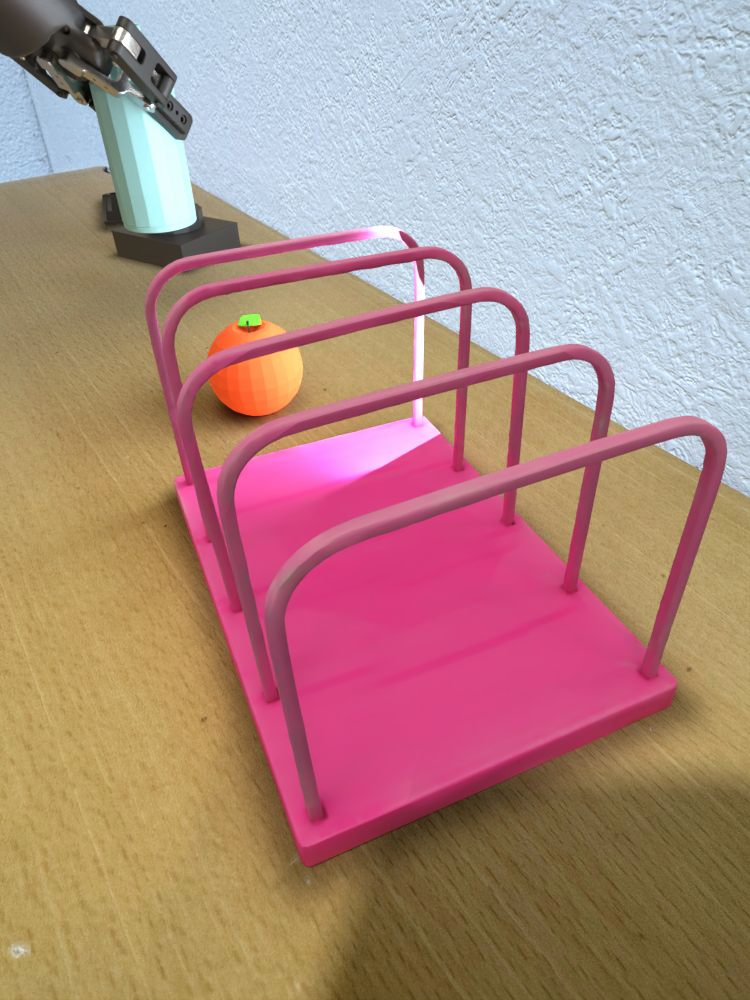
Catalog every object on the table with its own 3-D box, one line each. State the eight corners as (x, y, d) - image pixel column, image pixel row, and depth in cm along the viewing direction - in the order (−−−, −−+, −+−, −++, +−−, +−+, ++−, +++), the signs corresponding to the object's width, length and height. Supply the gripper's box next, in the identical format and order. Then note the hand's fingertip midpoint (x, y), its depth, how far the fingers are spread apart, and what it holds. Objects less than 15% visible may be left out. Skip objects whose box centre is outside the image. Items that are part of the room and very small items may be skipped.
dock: (118, 258, 81) (106, 214, 78) (174, 236, 86) (166, 194, 83) (186, 274, 76) (177, 227, 73) (241, 250, 82) (234, 205, 78)
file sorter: (304, 875, 26) (241, 571, 16) (177, 500, 44) (111, 251, 34) (673, 708, 31) (793, 401, 21) (423, 434, 49) (426, 201, 40)
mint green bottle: (109, 226, 61) (58, 28, 52) (162, 208, 65) (123, 21, 56) (159, 237, 58) (114, 30, 49) (211, 217, 62) (179, 22, 53)
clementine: (220, 383, 56) (204, 299, 52) (306, 377, 56) (297, 292, 52) (211, 437, 50) (191, 346, 45) (307, 430, 50) (297, 338, 46)
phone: (157, 187, 101) (165, 215, 89) (159, 195, 101) (167, 224, 90) (101, 193, 99) (101, 222, 88) (103, 202, 100) (104, 231, 88)
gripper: (69, -112, 40) (237, 91, 55) (-68, -98, 47) (116, 81, 62) (20, 6, 40) (202, 178, 55) (-111, 5, 47) (84, 159, 62)
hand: (156, 126), depth 58 cm, fingers closed on mint green bottle, 6 cm apart
